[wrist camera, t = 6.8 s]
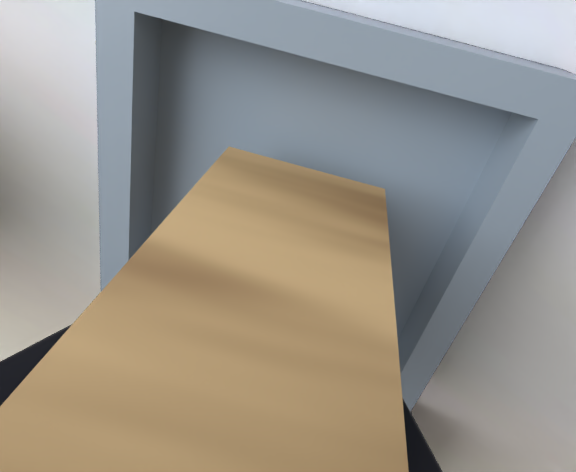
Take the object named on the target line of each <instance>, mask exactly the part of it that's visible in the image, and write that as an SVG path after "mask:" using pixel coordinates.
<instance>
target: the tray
mask: <svg viewBox="0 0 576 472" xmlns="http://www.w3.org/2000/svg"><path fill="white" fill-rule="evenodd" d="M95 22H96V72H97V123H98V173H99V224H100V274H101V291H102V290H103V289H104V288H105V287H106V286H107V284H108V283H109V282H110V281H111V280H112V279H113V278H114V276H115V275H116V274H117V273H118V272H119V271H120V270H121V268H122V267H123V266H124V265H125V264H126V263H127V262H128V261H129V259H130V258H131V257H132V256H133V255H134V254H135V253H136V251H137V250H138V249H139V248H140V247H141V246H142V245H143V243H144V242H145V241H146V240H147V239H148V238H149V237H150V235H151V234H152V233H153V232H154V231H155V230H156V229H157V228H158V226H159V225H160V224H161V223H162V222H163V221H164V220H165V218H166V217H167V216H168V215H169V214H170V213H171V212H172V210H173V209H174V208H175V207H176V206H177V205H178V204H179V202H180V201H181V200H182V199H183V198H184V197H185V196H186V195H187V193H188V192H189V191H190V190H191V189H192V188H193V187H194V185H195V184H196V183H197V182H198V181H199V180H200V179H201V177H202V176H203V175H204V174H205V173H206V172H207V171H208V169H209V168H210V167H211V166H212V165H213V164H214V163H215V162H216V160H217V159H218V158H219V157H220V156H221V155H222V154H223V152H224V151H225V150H226V149H227V148H228V147H233V148H236V149H240V150H244V151H247V152H251V153H255V154H258V155H262V156H266V157H269V158H273V159H277V160H281V161H284V162H288V163H292V164H295V165H299V166H303V167H306V168H310V169H314V170H317V171H321V172H325V173H328V174H332V175H336V176H339V177H343V178H347V179H350V180H354V181H358V182H361V183H365V184H369V185H372V186H376V187H380V188H383V189H385V195H386V207H387V219H388V231H389V243H390V255H391V267H392V279H393V291H394V303H395V315H396V327H397V339H398V350H399V362H400V374H401V386H402V397H403V399H404V401H405V403H406V405H407V407H408V408H409V410H410V412H411V410H412V408H413V407H414V405H415V403H416V402H417V400H418V398H419V397H420V395H421V393H422V392H423V390H424V389H425V387H426V385H427V384H428V382H429V380H430V379H431V377H432V375H433V374H434V372H435V370H436V369H437V367H438V365H439V364H440V362H441V360H442V359H443V357H444V355H445V354H446V352H447V350H448V349H449V347H450V345H451V344H452V342H453V340H454V339H455V337H456V335H457V334H458V332H459V330H460V329H461V327H462V325H463V324H464V322H465V320H466V319H467V317H468V315H469V314H470V312H471V310H472V309H473V307H474V306H475V304H476V302H477V301H478V299H479V297H480V296H481V294H482V292H483V291H484V289H485V287H486V286H487V284H488V282H489V281H490V279H491V277H492V276H493V274H494V272H495V271H496V269H497V267H498V266H499V264H500V262H501V261H502V259H503V257H504V256H505V254H506V252H507V251H508V249H509V247H510V246H511V244H512V242H513V241H514V239H515V237H516V236H517V234H518V232H519V231H520V229H521V227H522V226H523V224H524V223H525V221H526V219H527V218H528V216H529V214H530V213H531V211H532V209H533V208H534V206H535V204H536V203H537V201H538V199H539V198H540V196H541V194H542V193H543V191H544V189H545V188H546V186H547V184H548V183H549V181H550V179H551V178H552V176H553V174H554V173H555V171H556V169H557V168H558V166H559V164H560V163H561V161H562V159H563V158H564V156H565V154H566V153H567V151H568V149H569V148H570V146H571V144H572V143H573V141H574V139H575V138H576V75H575V74H573V73H570V72H568V71H566V70H563V69H560V68H556V67H552V66H549V65H545V64H541V63H537V62H534V61H530V60H526V59H522V58H518V57H515V56H511V55H507V54H503V53H499V52H496V51H492V50H488V49H484V48H480V47H477V46H473V45H469V44H465V43H461V42H458V41H454V40H450V39H446V38H442V37H439V36H435V35H431V34H427V33H423V32H420V31H416V30H412V29H408V28H404V27H401V26H397V25H393V24H389V23H385V22H382V21H378V20H374V19H370V18H366V17H363V16H359V15H355V14H351V13H347V12H344V11H340V10H336V9H332V8H328V7H325V6H321V5H317V4H313V3H309V2H306V1H302V0H95Z"/></svg>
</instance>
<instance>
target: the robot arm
mask: <svg viewBox="0 0 576 472" xmlns="http://www.w3.org/2000/svg"><path fill="white" fill-rule="evenodd" d="M70 326H71V325H70ZM70 326H68V327H66V328H64V329H62V330H60V331H58V332H56V333H54V334H52V335H51V336H49V337H47V338H45V339H43V340H41V341H39V342H37V343H35V344H33V345H31V346H29V347H28V348H26V349H24V350H22V351H20V352H18V353H16V354H14V355H12V356H10V357H8V358H6V359H5V360H3V361H1V362H0V406H1V405H2V404H3V403H4V402H5V400H6V399H7V398H8V397H9V396H10V395H11V394H12V392H13V391H14V390H15V389H16V388H17V387H18V386H19V384H20V383H21V382H22V381H23V380H24V379H25V378H26V377H27V375H28V374H29V373H30V372H31V371H32V370H33V369H34V367H35V366H36V365H37V364H38V363H39V362H40V361H41V359H42V358H43V357H44V356H45V355H46V354H47V353H48V352H49V350H50V349H51V348H52V347H53V346H54V345H55V344H56V342H57V341H58V340H59V339H60V338H61V337H62V336H63V334H64V333H65V332H66V331H67V330H68V329H69V328H70ZM402 398H403V397H402ZM403 410H404V422H405V434H406V446H407V458H408V470H409V472H442V470H441V468H440V466H439V464H438V463H437V461H436V459H435V457H434V455H433V453H432V451H431V449H430V448H429V446H428V444H427V442H426V440H425V438H424V436H423V435H422V433H421V431H420V429H419V427H418V425H417V423H416V422H415V420H414V418H413V416H412V414H411V412H410V410H409V408H408V407H407V405H406V403H405V401H404V399H403Z"/></svg>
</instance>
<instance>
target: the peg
mask: <svg viewBox="0 0 576 472" xmlns="http://www.w3.org/2000/svg"><path fill="white" fill-rule="evenodd" d="M0 472H409V470H408V458H407V446H406V434H405V422H404V410H403V398H402V386H401V374H400V362H399V350H398V339H397V327H396V315H395V303H394V291H393V279H392V267H391V255H390V243H389V231H388V219H387V207H386V195H385V189H383V188H380V187H376V186H372V185H369V184H365V183H361V182H358V181H354V180H350V179H347V178H343V177H339V176H336V175H332V174H328V173H325V172H321V171H317V170H314V169H310V168H306V167H303V166H299V165H295V164H292V163H288V162H284V161H281V160H277V159H273V158H269V157H266V156H262V155H258V154H255V153H251V152H247V151H244V150H240V149H236V148H233V147H228V148H227V149H226V150H225V151H224V152H223V154H222V155H221V156H220V157H219V158H218V159H217V160H216V162H215V163H214V164H213V165H212V166H211V167H210V168H209V169H208V171H207V172H206V173H205V174H204V175H203V176H202V177H201V179H200V180H199V181H198V182H197V183H196V184H195V185H194V187H193V188H192V189H191V190H190V191H189V192H188V193H187V195H186V196H185V197H184V198H183V199H182V200H181V201H180V202H179V204H178V205H177V206H176V207H175V208H174V209H173V210H172V212H171V213H170V214H169V215H168V216H167V217H166V218H165V220H164V221H163V222H162V223H161V224H160V225H159V226H158V228H157V229H156V230H155V231H154V232H153V233H152V234H151V235H150V237H149V238H148V239H147V240H146V241H145V242H144V243H143V245H142V246H141V247H140V248H139V249H138V250H137V251H136V253H135V254H134V255H133V256H132V257H131V258H130V259H129V261H128V262H127V263H126V264H125V265H124V266H123V267H122V268H121V270H120V271H119V272H118V273H117V274H116V275H115V276H114V278H113V279H112V280H111V281H110V282H109V283H108V284H107V286H106V287H105V288H104V289H103V290H102V291H101V292H100V293H99V295H98V296H97V297H96V298H95V299H94V300H93V301H92V303H91V304H90V305H89V306H88V307H87V308H86V309H85V311H84V312H83V313H82V314H81V315H80V316H79V317H78V319H77V320H76V321H75V322H74V323H73V324H72V325H71V326H70V328H69V329H68V330H67V331H66V332H65V333H64V334H63V336H62V337H61V338H60V339H59V340H58V341H57V342H56V344H55V345H54V346H53V347H52V348H51V349H50V350H49V352H48V353H47V354H46V355H45V356H44V357H43V358H42V359H41V361H40V362H39V363H38V364H37V365H36V366H35V367H34V369H33V370H32V371H31V372H30V373H29V374H28V375H27V377H26V378H25V379H24V380H23V381H22V382H21V383H20V384H19V386H18V387H17V388H16V389H15V390H14V391H13V392H12V394H11V395H10V396H9V397H8V398H7V399H6V400H5V402H4V403H3V404H2V405H1V406H0Z"/></svg>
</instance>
